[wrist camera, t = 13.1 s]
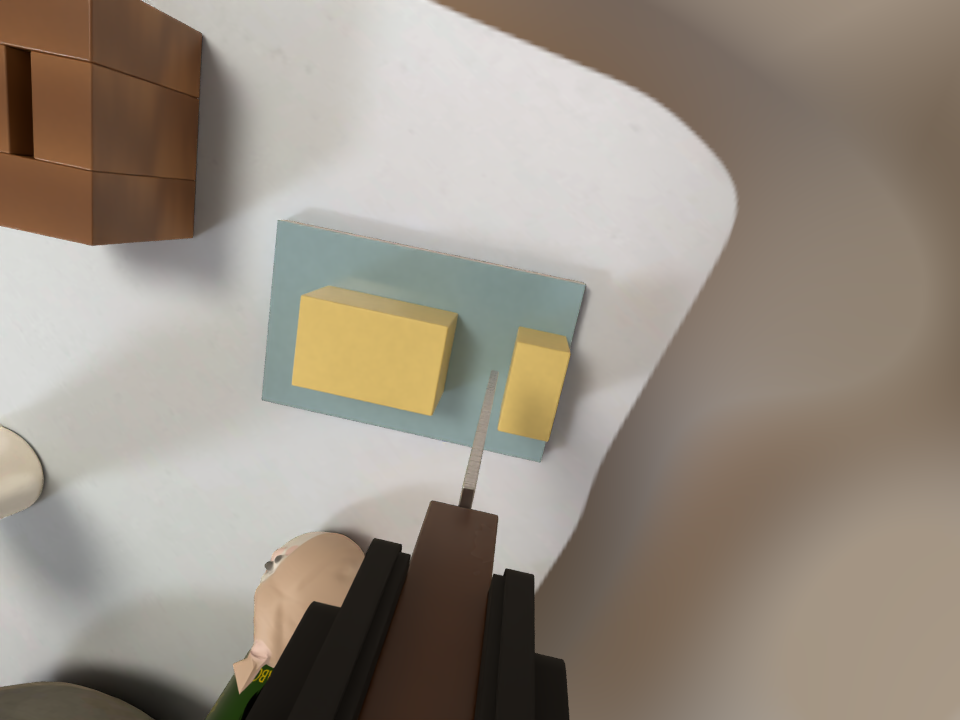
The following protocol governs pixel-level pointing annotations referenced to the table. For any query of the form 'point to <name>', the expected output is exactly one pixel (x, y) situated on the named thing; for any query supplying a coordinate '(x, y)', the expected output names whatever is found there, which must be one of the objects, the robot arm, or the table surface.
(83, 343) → the table surface
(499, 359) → the butter dish
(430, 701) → the knife
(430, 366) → the butter
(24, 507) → the beer glass
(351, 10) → the table surface
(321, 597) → the garlic bulb
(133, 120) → the knife block
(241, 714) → the green soda can
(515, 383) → the butter slice
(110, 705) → the bowl
